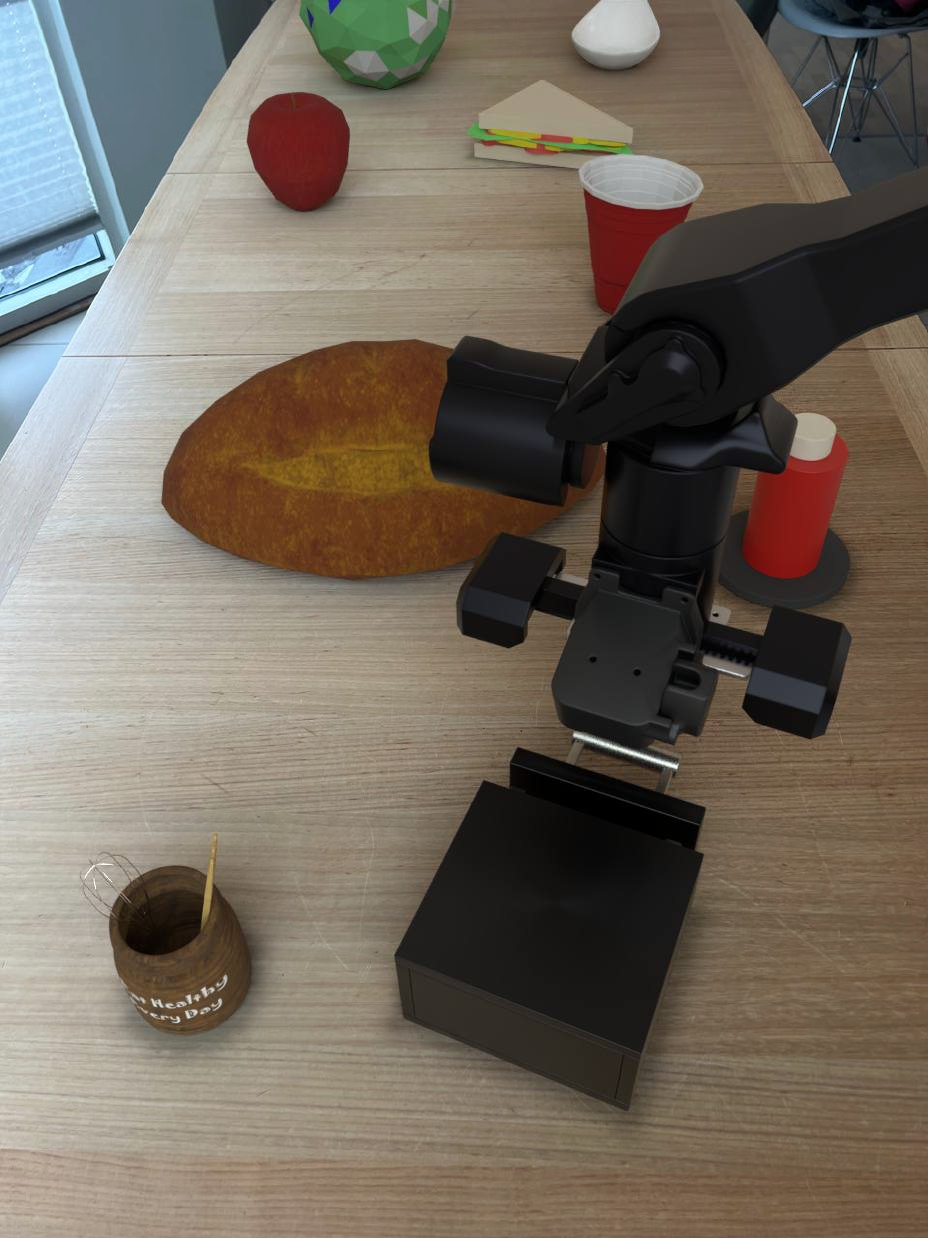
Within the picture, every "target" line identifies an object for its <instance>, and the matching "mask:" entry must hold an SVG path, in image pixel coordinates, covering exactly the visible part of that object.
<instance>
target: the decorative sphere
mask: <svg viewBox="0 0 928 1238" xmlns="http://www.w3.org/2000/svg"><path fill="white" fill-rule="evenodd" d="M456 11H457V4H456V0H300V6H299V11H298V12H299V13H298V16H299V17H300V19H301V21H302V22H303V24H304V26H305V28H306V29H307V31H308V33H309V34H310V36H311V37H312V40H313V42H314V45H315V48H316V49H317V52H318V54H319V56H320V57H322V58H323V60H324V61H326V62H327V63H328V65H330V66H331V67H332V68H333V69H334V71H336V72H337V73H338V74H339V75H340V76H341V77H342V78H343V79H344V80H345V81H347V82H351V83H356V84H360V85H365V86H370V87H373V88H379V89H383V90H390V89H392V88H394V87H397V86H399V85H401V84H403V83H407V82H408V81H411V80H413V79H415V78H418V77H420V76H422V75H425V74H426V73H427V72H428V70H429V68H430V67H431V65H432V64H433V62H434V61H435V59H436V58H437V56H438V54H439V53H440V50H441V49H442V47H443V44H444V42H445V39H446V37H447V34H448V30H449V27H450V23H451V20H452V17H453V15H454V14H455V12H456Z"/></svg>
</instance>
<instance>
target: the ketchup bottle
mask: <svg viewBox="0 0 928 1238" xmlns="http://www.w3.org/2000/svg"><path fill="white" fill-rule="evenodd" d="M794 415H795V416H796V418H797V420H798V425H797V429H796V433H795V437H794V441H793V444H792V448H791V452H790V456H789V460H788V463H787V467H786V469H785V471H784V472H783V473H781V474H778V475H774V474H769V473H764V472H759V471H757V474H756V477H755V484H754V488H753V493H752V498H751V502H750V506H749V510H750V511H749V516H748V520H747V525H746V530H745V534H744V539H743V544H742V554H743V556H744V558H745V560H746V561H747V563H748V564H749V565H750V566H751V567H753V568H754V569H755V570H757V571H759V572H761V573H763V574H765V575H768V576H771V577H776V578H783V579H790V578H798V577H802V576H804V575H806V574H808V573H810V572H811V571H813V569H814V568H815V567H816V566H817V564H818V561H819V558H820V554H821V551H822V547H823V544H824V540H825V537H826V533H827V530H828V528H829V526H830V522H831V519H832V516H833V511H834V509H835V505H836V500H837V498H838V495H839V491H840V488H841V484H842V481H843V477H844V473H845V470H846V466H847V463H848V459H849V455H850V451H849V447H848V445H847V443H846V441H844V439H843V438H842V437H840V436H839V435H838V434H837V426H836V424H835V423H834V422H833V421H832V420H831V419H830V418H828V417H827V416H824V415H822V414H819V413H815V412H799V413H796V414H794Z"/></svg>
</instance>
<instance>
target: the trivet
mask: <svg viewBox="0 0 928 1238" xmlns="http://www.w3.org/2000/svg"><path fill="white" fill-rule="evenodd" d="M749 511H750V509H749V510H744V511H739V512H737V513H735V514H731V518H730V523H729V528H728V533H727V538H726V543H725V548H724V553H723V558H722V562H721V567H720V572H719V577H718V583H720V584H721V586H723V587H724V588H725V589H727V590H728V591H729V592H731V593H732V594H734V595H735V596H737V597H739V598H741V599H743V600H745V601H748V602H750V603H753V604H756V605H760V606H763V607H768V608H773V605H778V606H781V607H785V608H789V609H793V610H797V609H804V608H810V607H814V606H817V605H820V604H822V603H824V602H826V601H828V600H830V599H833V597H834V596H836V595H837V594H838V593H839V592H840V591H841V590H842V589H843V587H844V585H845V583H846V581H847V579H848V575H849V572H850V568H851V557H850V554H849V551H848V549H847V547H846V545H845V543H844V542H843V540H842V539H841V538H840V536H838V534H836V533H835V531H833V530H832V529H831V528H829V527H828V530H827V533H826V537H825V540H824V544H823V547H822V551H821V554H820V558H819V561H818V564H817V566H816V567H815V568H814V569H813V571H811V572H810V573H808V574H806V575H804V576H802V577H798V578H790V579H783V578H776V577H771V576H768V575H765V574H763V573H761V572H759V571H757V570H755V569H754V568H753V567H751V566H750V565H749V564H748V563H747V561H746V560H745V558H744V556H743V554H742V544H743V539H744V534H745V530H746V525H747V520H748V516H749Z"/></svg>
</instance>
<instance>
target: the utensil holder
mask: <svg viewBox="0 0 928 1238" xmlns="http://www.w3.org/2000/svg"><path fill="white" fill-rule="evenodd" d="M217 847H218V833H216V832H214V833H213V837H212V842H211V849H210V854H209V859H208V865H207V873H206V874H205V873H204V872H202V871H201V870H199V869H196V868H193V867H192V866H191V867H190V866H187V865H178V864H177V865H176V864H175V865H165V866H160V867H156V868H153V869H150V870H148V871H146V872H143V873H142V874H141V873H140V871H139V870H138V868H136V867H135V865H133V863H132V862H131V861H130V860H129V859H128V858H127V857H126V856H124V855H122V854H111V853H110V852H107V851H102V852H99V854H98V855H97V856H96V858H95V860H94V861H92V859H90V858H88V859H87V860H88V862H89V863H90V864H89V865H86V866H84V867H83V868H82V869H81V870H80V872H79V880H80V882H81V883H82V893H83V895H84V897H85V898H86V900H87V901H88V903H90V905H91V906H92V907H93V908H94V909H95V911H97V912H98V913H99V914H100V915H102V916H104V917H106V918H108V933H109V940H110V945H111V948H112V951H113V963H114V966H115V969H116V972H117V975H118V977H119V979H120V981H121V984H122V986H123V987H124V989H125V991H126V993H127V995H128V996H129V998H130V1000H131V1002H132V1004H133V1005H134V1007H135V1009H136V1011H137V1012H138V1013H139V1015H140V1016H141V1017H142V1018H143V1019H144V1020H145V1021H146V1023H147V1024H149V1025H150V1026H152V1027H153V1028H154V1029H156V1030H158V1031H160V1032H162V1033H165V1034H167V1035H173V1036H179V1037H188V1036H195V1035H196V1036H197V1035H200V1034H203V1033H206V1032H209V1031H211V1030H213V1029H215V1028H217V1027H219V1026H220V1025H222V1024H223V1023H224V1022H226V1021H227V1020H228V1019H229V1018H231V1016H232V1015H234V1013H236V1011H237V1010H238V1009H239V1008H240V1006H241V1004H242V1003H243V1001H244V1000H245V998H246V995H247V993H248V990H249V988H250V984H251V980H252V959H251V953H250V950H249V946H248V943H247V941H246V938H245V934H244V931H243V929H242V925H241V923H240V921H239V919H238V916H237V914H236V912H235V910H234V908H233V906H232V905H231V904H230V903H229V902H228V900H227V899H226V898H225V897H224V896H223V895H222V893H221V891H220V890H219V888H218V887H217V885H216V884H215V883H214V880H215V873H216V863H217ZM102 854H107V855H106V856H104V857H102V858H101V859H99V860H98V858H99V856H100V855H102ZM115 856H118V857H121V858H123V859H125V860H126V861H127V862H128V863H129V865H131V867H133V869H135V871H136V873H137V874H138V875H139V876H137V877H135V876H134V875H133V874H132V873H131V872H130V871H129V870H128V869H126V868H124V867H123V866H122V865H121V864H120V863H119V862H118V861H117V859H116V858H115ZM109 857H111V859H113V861H115V863H117V864H114V863H100V862H101V861H103V860H104V859H107V858H109ZM101 865H104V866H105V865H106V866H107V865H108V866H114V867H117V868H119V869H121V870H122V871H123V872H124V874H125V875H126V877H127V879H128V881H129V883H128V884H127V885H126V886H125V887H124V888H123V890H121V889H120V888H119V887H118V886H117V885H116V884H115V882H114V881H113V880H112V879H111V878H109V876H108V875H107V874H106V873H105V872H104V871H103V870H102V869H101V868H100V867H99V866H101ZM89 867H90V869H89V870H87V873H86V874H85V876H84V878H83V879H82V872H83V871H84V870H85V869H87V868H89ZM92 869H93V874H92V875H93V877H92V878H93V886H94V889H95V892H96V895H97V896H96V895H95V894H94V893H93V892H92V891H91V890H90V888H89V887H88V886H87V884H86V883H85V881H86V878H87V876H88V874H89V873H90V871H91V870H92ZM95 870H96V871H97V873H99V874H100V875H101V877H102V878H103V879H104V880H105V882H106V883H107V884H108V885H109V886H110V887H111V888H112V889H113V890H114V892H116V893H117V894H118V896H117V897H116V899H115V901H114V903H113V906H111V905H109V904H108V903H106V902H104V900H103V899H102V898H101V896H100V894H99V891H98V889H97V885H96V879H95V872H96V871H95ZM128 874H129V875H131V877H132V878H133V879H132V880H131V878H130V876H129V875H128ZM107 879H108V880H107ZM109 881H110V882H109ZM111 883H112V884H113V885H112V884H111ZM84 886H85V887H84ZM85 888H86V889H87V890H88V891H89V892H90V894H91V895H93V897H94V898H95V899H97V900H98V901H99V902H100V903H102V904H103V905H104V907H106V909H107V910H108V911H109V912H110V913H109V916H108V915H106V914H104V913H103V912H101V911H100V910H98V908H97V907H96V906H95V905H94V904H93V903H92V901H91V900H90V899H89V898H88V896H87V895H86V893H85Z"/></svg>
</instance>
